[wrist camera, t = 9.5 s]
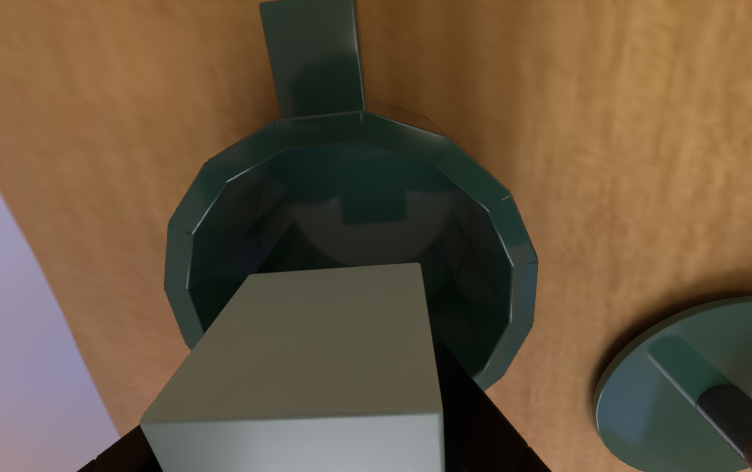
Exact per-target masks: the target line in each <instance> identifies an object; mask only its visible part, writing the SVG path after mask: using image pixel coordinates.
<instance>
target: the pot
mask: <svg viewBox="0 0 752 472" xmlns="http://www.w3.org/2000/svg"><path fill="white" fill-rule="evenodd" d="M259 9H260V14H261V20H262V25H263V30H264V35H265V40H266V45H267V50H268V55H269V60H270V65H271V70H272V75H273V80H274V85H275V90H276V95H277V100H278V106H279V111H280V116H281V118H279V119H276V120H273V121H271V122H269V123H268V124H266V125H264V126H263V127H261V128H259V129H258V130H256V131H254V132H253V133H251V134H249V135H248V136H246V137H244V138H243V139H241V140H240V141H238V142H236V143H235V144H233V145H231V146H230V147H228V148H226V149H225V150H223V151H221V152H220V153H218V154H217V155H215V156H213V157H212V158H210V159H209V160H208V161H207V162H206V163H204V165H203V166H202V168H201V169H200V171H199V173H198V174H197V176H196V178H195V179H194V181H193V183H192V184H191V186H190V187H189V189H188V191H187V192H186V194H185V196H184V197H183V199H182V201H181V202H180V204H179V205H178V207H177V209H176V210H175V212H174V214H173V215H172V217H171V219H170V220H169V224H168V231H167V246H166V262H165V277H164V290H165V293H166V295H167V298H168V301H169V303H170V306H171V308H172V311H173V313H174V316H175V319H176V321H177V324H178V326H179V329H180V331H181V334H182V337H183V339H184V342H185V344H186V345H188V348H189V349H190V350H191V351H192V350H193V348H194V347H195V346H196V344H197V343H198V342H199V340H200V339H201V338H202V337H203V335H204V334H205V333H206V331H207V330H208V329H209V327H210V326H211V325H212V323H213V322H214V321H215V319H216V318H217V317H218V315H219V314H220V313H221V311H222V310H223V309H224V307H225V306H226V305H227V303H228V302H229V301H230V300H231V298H232V297H233V296H234V294H235V293H236V292H237V290H238V289H239V288H240V286H241V285H242V284H243V282H244V281H245V280H246V278H247V277H248V276H249V275H251V274H261V273H276V272H290V271H304V270H318V269H332V268H346V267H360V266H374V265H388V264H403V263H419V264H420V265H421V271H422V277H423V283H424V290H425V296H426V303H427V309H428V316H429V322H430V329H431V335H432V342H442V343H443V344H444V345H445V346H446V347H447V348H448V350H449V351H450V352H451V353H452V354H453V356H454V357H455V358H456V359H457V360H458V362H459V363H460V364H461V365H462V366H463V367H464V369H465V370H466V371H467V372H468V373H469V375H470V376H471V377H472V378H473V379H474V381H475V382H476V383H477V384H478V385H479V387H480V388H481V389H482V390H483V391H485V390H487V389H488V388H489V387H491V386H492V385H493V384H495V383H496V382H497V381H498V380H500V379H501V377H503V376H504V375H505V373H506V371H507V369H508V368H509V366H510V364H511V363H512V361H513V359H514V357H515V356H516V354H517V352H518V351H519V349H520V347H521V345H522V344H523V342H524V340H525V339H526V337H527V335H528V333H529V332H530V330H531V328H532V326H533V325H532V324H533V322H534V310H535V297H536V285H537V273H538V257H537V254H536V252H535V249H534V247H533V244H532V242H531V240H530V237H529V235H528V232H527V230H526V227H525V225H524V222H523V220H522V218H521V215H520V213H519V210H518V208H517V205H516V203H515V201H514V198H513V196H512V194H511V193H510V191H509V190H508V189H507V188H506V187H505V186H504V185H503V184H502V183H500V182H499V181H498V180H497V179H496V178H495V177H494V176H493V175H492V174H490V173H489V172H488V171H487V170H486V169H485V168H484V167H483V166H481V165H480V164H479V163H478V162H477V161H476V160H475V159H474V158H473V157H471V156H470V155H469V154H468V153H467V152H466V151H465V150H464V149H463V148H461V147H460V146H459V145H458V144H457V143H456V142H455V141H454V140H452V139H451V138H450V137H449V136H448V135H447V134H446V133H445V132H444V131H442V130H441V129H440V128H439V127H438V126H437V125H436V124H435V123H433V122H432V121H431V120H430V119H429V118H427V117H425V116H422V115H419V114H415V113H412V112H409V111H406V110H404V109H401V108H398V107H394V106H390V105H387V104H384V103H381V102H378V101H372V100H371V101H368V95H367V86H366V76H365V67H364V57H363V48H362V38H361V29H360V19H359V10H358V1H357V0H275V1H268V2H261V3H260V4H259Z"/></svg>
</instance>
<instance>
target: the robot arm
mask: <svg viewBox="0 0 752 472" xmlns="http://www.w3.org/2000/svg"><path fill="white" fill-rule="evenodd" d="M433 348H434V354H435V361H436V367H437V374H438V380H439V387H440V393H441V400H442V406H443V421H444V446H445V471H446V472H552V471H551V470H550V469H549V468H548V467H547V466H546V465H545V464H544V462H543V461H542V460H541V459H540V458H539V456H538V455H537V454H536V453H535V452H534V450H533V449H532V448H531V447H529V446H528V444H527V442H526V441H525V440H524V439H523V438H522V436H521V435H520V434H519V433H518V432H517V430H516V429H515V428H514V427H513V426H512V425H511V423H510V422H509V421H508V420H507V419H506V417H505V416H504V415H503V414H502V413H501V411H500V410H499V409H498V408H497V407H496V406H495V404H494V403H493V402H492V401H491V400H490V398H489V397H488V396H487V395H486V394H485V392H484V391H483V390H482V389H481V388H480V387H479V385H478V384H477V383H476V382H475V381H474V379H473V378H472V377H471V376H470V375H469V373H468V372H467V371H466V370H465V369H464V367H463V366H462V365H461V364H460V363H459V362H458V360H457V359H456V358H455V357H454V356H453V354H452V353H451V352H450V351H449V350H448V348H447V347H446V346H445V345H444V344H443V343H442V342H433ZM77 472H163V470H162V468H161V466H160V464H159V462H158V460H157V458H156V456H155V454H154V452H153V450H152V448H151V446H150V444H149V442H148V440H147V438H146V436H145V434H144V432H143V430H142V428H141V426H140V424H139V425H138V426H137V427H135V428H134V429H133V430H131V431H130V432H129V433H127V434H126V435H125V436H123V437H122V438H121V439H119V440H118V441H117V442H115V443H114V444H113V445H112V446H110V447H109V448H108V449H106V450H105V451H104V452H102V453H101V454H100V455H98V456H97V458H96V460H95V459H94V460H92V461H90V462H89V463H88V464H86V465H85V466H84V467H82V468H81V469H80V470H78V471H77Z"/></svg>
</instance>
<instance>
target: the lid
mask: <svg viewBox="0 0 752 472" xmlns="http://www.w3.org/2000/svg"><path fill="white" fill-rule="evenodd" d="M592 415H593V422H594V425H595V428H596V431H597V432H598V434H599V436H600V438H601V440H602V441H603V443H604V445H605V446H606V447H607V448H608V449H609V451H610V452H611V453H612V454H614V455H615V456H616V457H617V458H618V459H619V460H621V461H623V462H624V463H626V464H627V465H629V466H631V467H634V468H636V469H638V470H641V471H644V472H737V471H740V470H743V469H747V468H751V469H752V296H742V297H733V298H726V299H721V300H717V301H712V302H708V303H705V304H701V305H698V306H695V307H692V308H689V309H687V310H684V311H682V312H679V313H677V314H674V315H672V316H670V317H668V318H666V319H664V320H662V321H660V322H658V323H657V324H655V325H653V326H652V327H650V328H649V329H647V330H646V331H644V332H642V333H641V334H640V335H639V336H637V337H636V338H635V339H633V340H632V341H631V342H630V343H628V344H627V345H626V346H625V347H624V348H623V349H622V350H621V351H620V352H619V353H618V354H617V355H616V356H615V358H614V359H613V360H612V361H611V362H610V364H609V365H608V366H607V368H606V369H605V371H604V373H603V374H602V376H601V378H600V380H599V382H598V384H597V387H596V389H595V393H594V397H593V404H592Z"/></svg>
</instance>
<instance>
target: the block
mask: <svg viewBox="0 0 752 472" xmlns="http://www.w3.org/2000/svg"><path fill="white" fill-rule="evenodd" d="M140 426H141V428H142V430H143V432H144V434H145V436H146V438H147V440H148V442H149V444H150V446H151V448H152V450H153V452H154V454H155V456H156V458H157V460H158V462H159V464H160V466H161V468H162V470H163V472H446V471H445V446H444V421H443V406H442V400H441V393H440V387H439V380H438V374H437V367H436V361H435V354H434V348H433V342H432V335H431V329H430V322H429V316H428V309H427V303H426V296H425V290H424V283H423V277H422V271H421V265H420V264H419V263H403V264H388V265H374V266H360V267H346V268H332V269H318V270H304V271H290V272H276V273H261V274H251V275H249V276H248V277H247V278H246V280H245V281H244V282H243V284H242V285H241V286H240V288H239V289H238V290H237V292H236V293H235V294H234V296H233V297H232V298H231V300H230V301H229V302H228V303H227V305H226V306H225V307H224V309H223V310H222V311H221V313H220V314H219V315H218V317H217V318H216V319H215V321H214V322H213V323H212V325H211V326H210V327H209V329H208V330H207V331H206V333H205V334H204V335H203V337H202V338H201V339H200V340H199V342H198V343H197V344H196V346H195V347H194V348H193V350H192V351H191V352H190V354H189V355H188V356H187V358H186V359H185V360H184V362H183V363H182V364H181V366H180V367H179V368H178V370H177V371H176V372H175V374H174V375H173V376H172V378H171V379H170V380H169V381H168V383H167V384H166V385H165V387H164V388H163V389H162V391H161V392H160V393H159V395H158V396H157V397H156V399H155V400H154V401H153V403H152V404H151V405H150V407H149V408H148V409H147V411H146V412H145V413H144V415H143V416H142V417H141V419H140Z"/></svg>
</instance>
